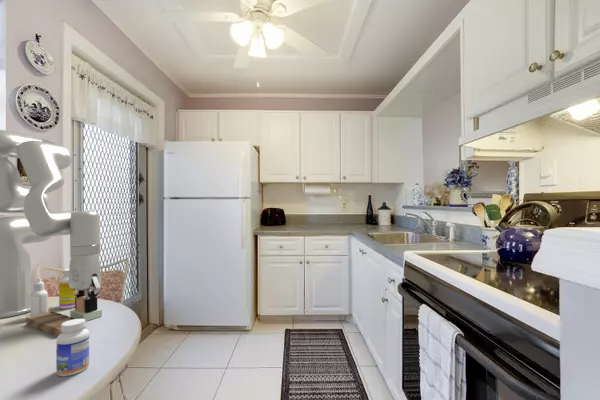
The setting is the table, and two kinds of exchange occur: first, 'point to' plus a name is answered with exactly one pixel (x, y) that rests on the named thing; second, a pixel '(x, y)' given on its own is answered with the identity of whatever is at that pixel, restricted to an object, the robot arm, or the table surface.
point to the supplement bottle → (66, 292)
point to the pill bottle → (72, 348)
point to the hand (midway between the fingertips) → (86, 309)
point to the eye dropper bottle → (39, 299)
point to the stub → (80, 310)
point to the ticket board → (48, 322)
